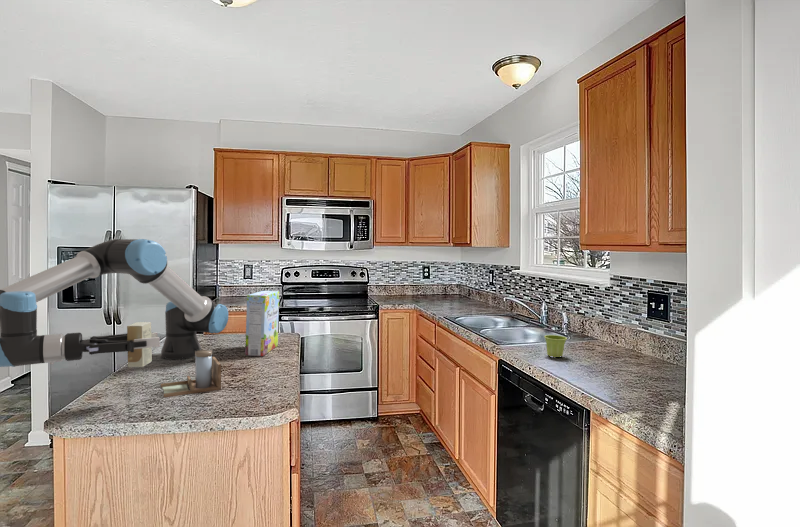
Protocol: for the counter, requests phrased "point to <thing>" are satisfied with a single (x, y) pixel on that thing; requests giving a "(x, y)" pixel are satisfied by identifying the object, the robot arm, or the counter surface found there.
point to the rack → (182, 388)
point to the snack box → (262, 322)
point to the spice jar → (203, 368)
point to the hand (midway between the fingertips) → (158, 339)
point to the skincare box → (144, 354)
